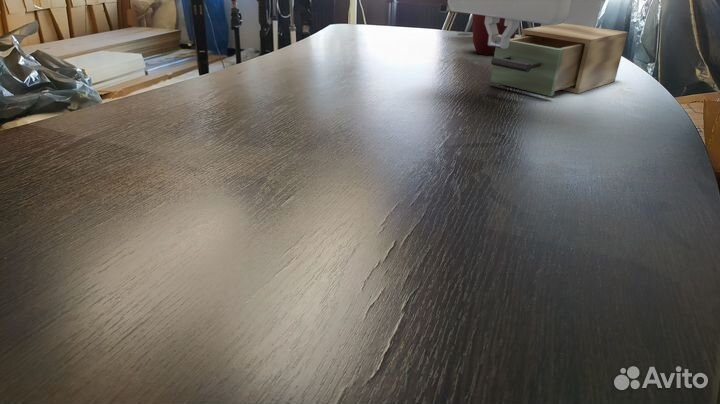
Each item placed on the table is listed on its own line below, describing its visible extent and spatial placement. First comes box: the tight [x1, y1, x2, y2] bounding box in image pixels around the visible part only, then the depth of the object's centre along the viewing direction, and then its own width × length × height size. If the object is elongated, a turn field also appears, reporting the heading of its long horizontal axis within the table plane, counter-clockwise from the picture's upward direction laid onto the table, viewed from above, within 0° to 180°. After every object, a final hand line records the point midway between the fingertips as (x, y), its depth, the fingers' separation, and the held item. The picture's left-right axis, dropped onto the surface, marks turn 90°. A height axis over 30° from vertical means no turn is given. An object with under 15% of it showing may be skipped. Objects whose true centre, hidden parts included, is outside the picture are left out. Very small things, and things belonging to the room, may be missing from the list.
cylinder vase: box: [540, 0, 603, 28], centre depth 119 cm, size 12×12×25 cm
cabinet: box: [520, 23, 629, 94], centre depth 99 cm, size 16×14×10 cm
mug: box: [471, 14, 516, 56], centre depth 121 cm, size 10×8×10 cm
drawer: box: [490, 35, 585, 97], centre depth 91 cm, size 19×12×8 cm, turn 132°
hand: (498, 47), depth 81 cm, fingers closed
